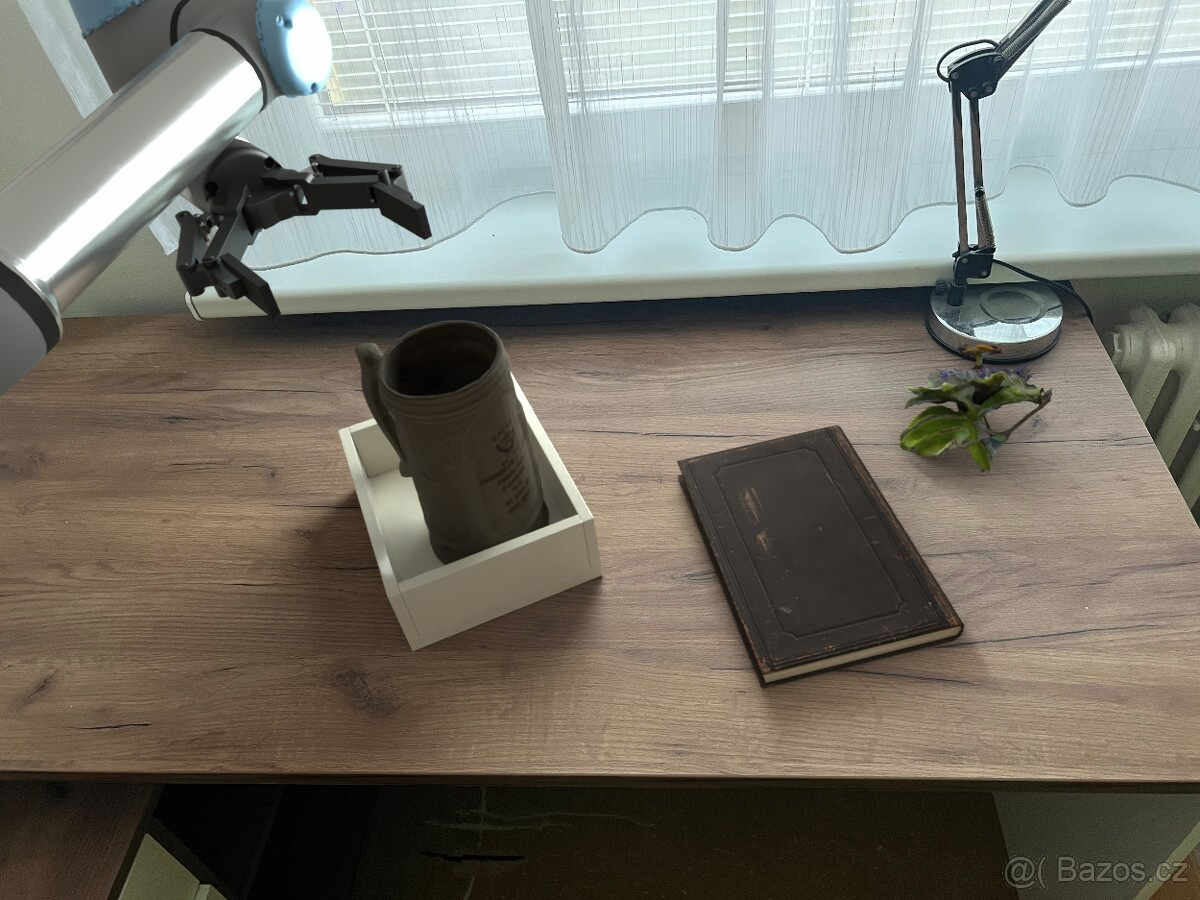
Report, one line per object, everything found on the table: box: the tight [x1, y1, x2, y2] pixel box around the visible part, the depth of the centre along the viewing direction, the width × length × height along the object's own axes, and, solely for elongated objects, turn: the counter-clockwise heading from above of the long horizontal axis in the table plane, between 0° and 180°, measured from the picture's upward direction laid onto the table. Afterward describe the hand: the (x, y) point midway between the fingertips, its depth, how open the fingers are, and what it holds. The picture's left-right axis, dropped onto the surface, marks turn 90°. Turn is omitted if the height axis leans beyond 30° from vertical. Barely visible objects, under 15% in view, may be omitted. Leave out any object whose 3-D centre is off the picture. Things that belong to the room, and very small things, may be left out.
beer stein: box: [354, 319, 549, 565], centre depth 72 cm, size 15×11×20 cm
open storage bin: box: [337, 372, 604, 652], centre depth 78 cm, size 17×21×8 cm
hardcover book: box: [676, 424, 965, 689], centre depth 74 cm, size 16×23×2 cm
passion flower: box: [899, 343, 1053, 473], centre depth 79 cm, size 11×11×12 cm
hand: (351, 260), depth 66 cm, fingers open, 13 cm apart
